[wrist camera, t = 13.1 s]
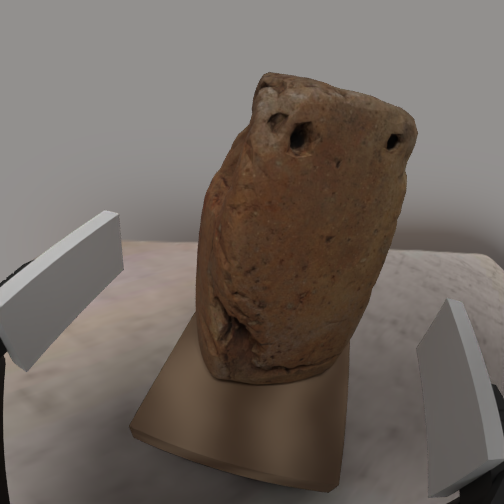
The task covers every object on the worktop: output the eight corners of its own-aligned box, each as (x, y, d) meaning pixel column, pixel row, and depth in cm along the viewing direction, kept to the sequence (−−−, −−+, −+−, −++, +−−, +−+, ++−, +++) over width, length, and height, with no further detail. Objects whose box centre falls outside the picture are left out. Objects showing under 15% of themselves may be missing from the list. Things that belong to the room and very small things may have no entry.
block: (308, 316, 29) (368, 93, 19) (341, 379, 23) (446, 117, 13) (190, 325, 26) (208, 65, 16) (203, 401, 20) (233, 62, 10)
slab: (335, 344, 33) (349, 311, 30) (315, 501, 18) (338, 485, 15) (213, 313, 35) (215, 277, 32) (140, 451, 20) (128, 426, 17)
